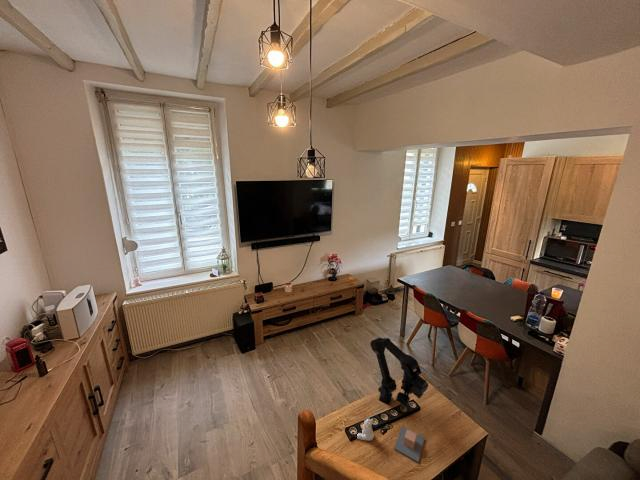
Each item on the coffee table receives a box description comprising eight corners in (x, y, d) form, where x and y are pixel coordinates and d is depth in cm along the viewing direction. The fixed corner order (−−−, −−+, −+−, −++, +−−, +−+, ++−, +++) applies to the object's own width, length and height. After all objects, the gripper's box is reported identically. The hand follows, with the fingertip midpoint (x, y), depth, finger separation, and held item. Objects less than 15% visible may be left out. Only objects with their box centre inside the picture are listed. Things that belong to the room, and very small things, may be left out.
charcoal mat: (394, 449, 136) (394, 447, 135) (401, 427, 147) (402, 426, 147) (418, 463, 129) (418, 461, 129) (424, 439, 141) (424, 437, 140)
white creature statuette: (362, 424, 149) (363, 407, 145) (377, 433, 144) (378, 416, 141) (354, 437, 141) (355, 420, 138) (369, 447, 137) (370, 430, 133)
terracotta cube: (403, 444, 137) (404, 436, 136) (406, 436, 141) (407, 429, 140) (413, 449, 135) (414, 442, 133) (415, 441, 139) (416, 434, 137)
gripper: (419, 398, 133) (415, 421, 138) (427, 374, 148) (424, 396, 153) (397, 388, 139) (394, 410, 144) (407, 366, 154) (404, 387, 159)
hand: (405, 401), depth 150 cm, fingers open, 9 cm apart
